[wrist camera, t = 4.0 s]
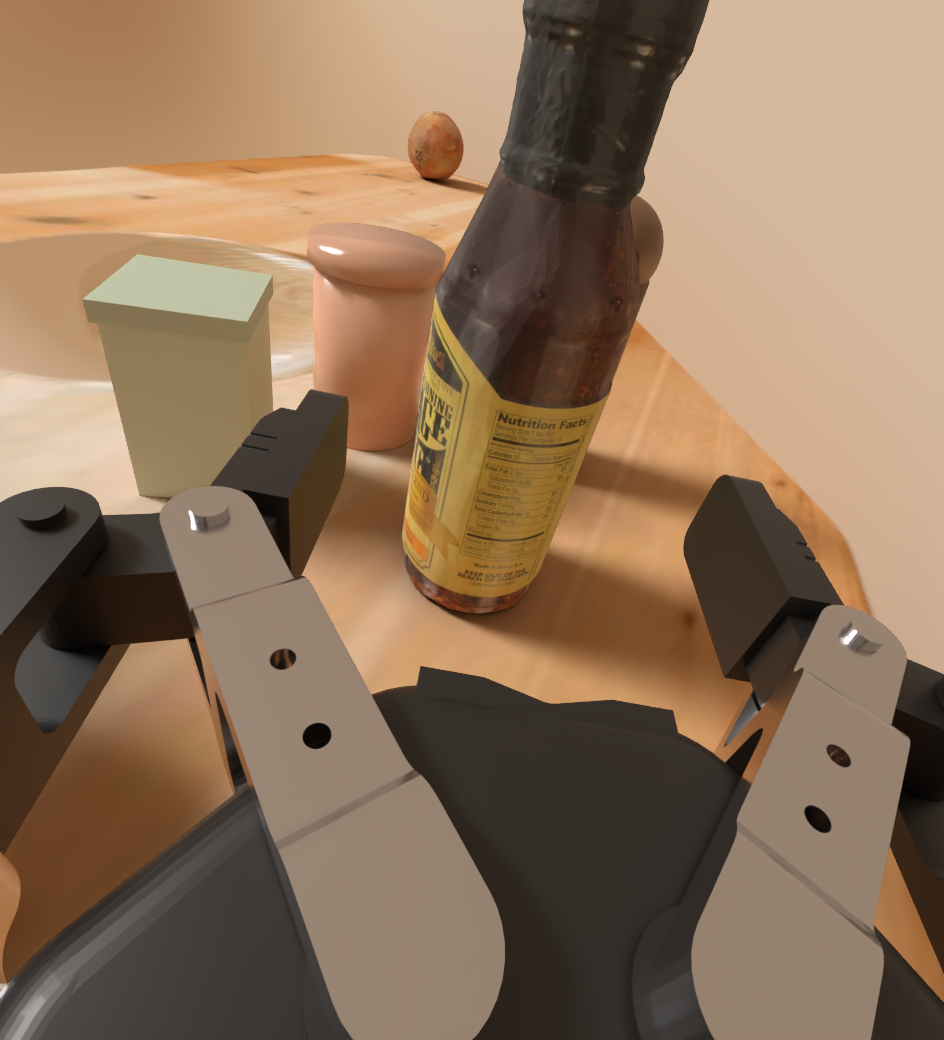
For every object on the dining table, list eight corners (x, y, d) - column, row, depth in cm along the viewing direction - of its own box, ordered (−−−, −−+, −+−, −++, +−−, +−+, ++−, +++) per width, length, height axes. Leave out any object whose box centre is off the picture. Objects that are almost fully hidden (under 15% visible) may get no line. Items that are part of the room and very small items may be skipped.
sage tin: (133, 497, 25) (82, 299, 19) (170, 433, 29) (137, 254, 23) (260, 507, 26) (247, 321, 20) (279, 444, 30) (272, 275, 24)
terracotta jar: (292, 440, 30) (287, 244, 24) (325, 387, 35) (328, 214, 29) (411, 463, 31) (437, 277, 24) (427, 407, 36) (451, 241, 30)
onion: (466, 184, 103) (476, 119, 97) (445, 188, 96) (454, 118, 89) (420, 170, 105) (427, 106, 99) (395, 174, 97) (401, 104, 91)
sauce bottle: (415, 512, 28) (503, -48, 15) (537, 542, 28) (727, 7, 15) (378, 609, 22) (465, -117, 10) (528, 646, 22) (803, -35, 10)
